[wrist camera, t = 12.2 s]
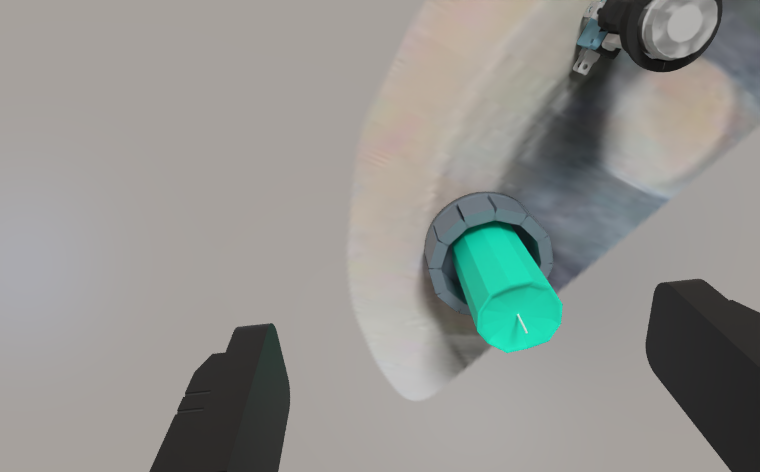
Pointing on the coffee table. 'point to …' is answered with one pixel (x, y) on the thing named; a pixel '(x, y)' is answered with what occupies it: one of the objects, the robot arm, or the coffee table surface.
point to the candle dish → (470, 214)
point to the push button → (649, 32)
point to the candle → (505, 288)
